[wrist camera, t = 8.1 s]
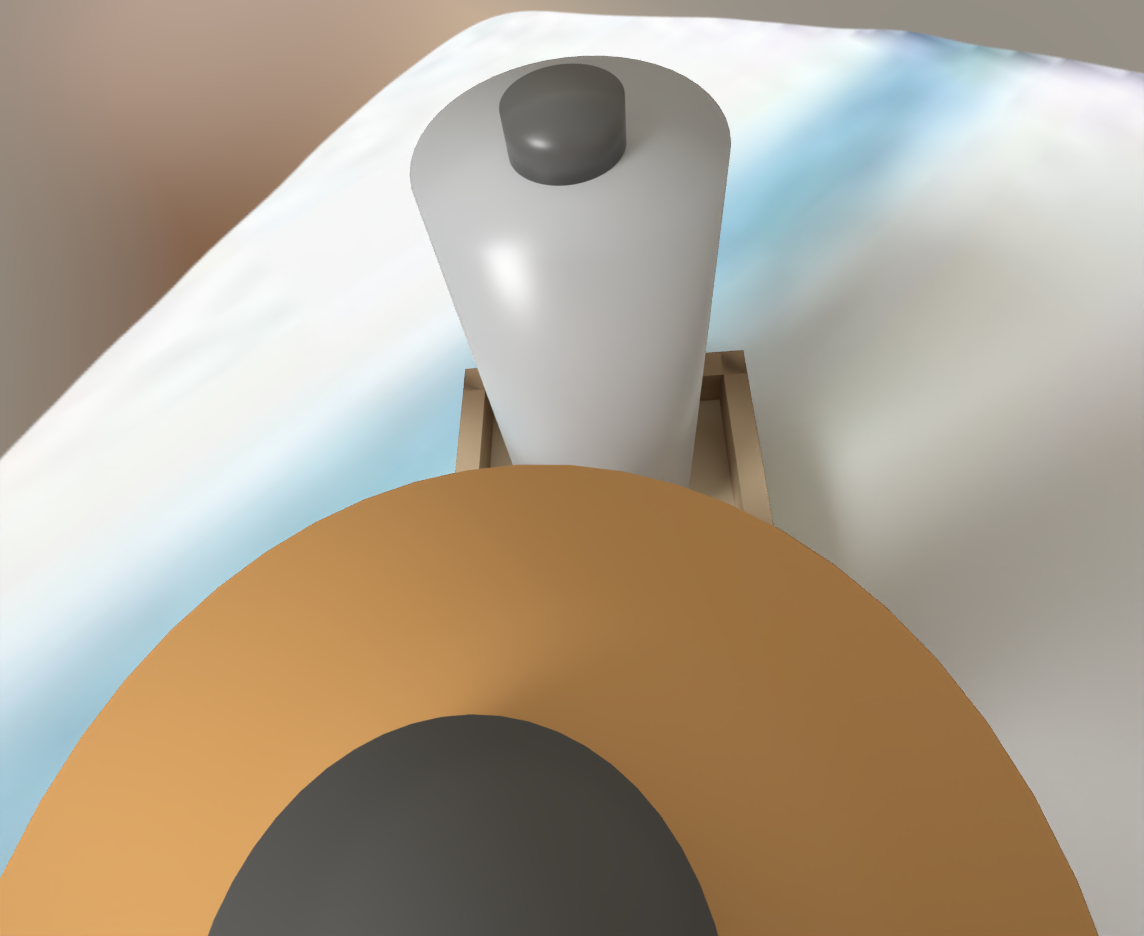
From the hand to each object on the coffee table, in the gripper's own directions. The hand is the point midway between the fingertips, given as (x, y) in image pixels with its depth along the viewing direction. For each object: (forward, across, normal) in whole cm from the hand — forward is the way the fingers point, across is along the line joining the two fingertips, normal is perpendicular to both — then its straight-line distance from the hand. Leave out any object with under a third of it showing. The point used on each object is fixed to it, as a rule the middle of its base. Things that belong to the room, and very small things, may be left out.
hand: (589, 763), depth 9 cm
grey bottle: (+14, 0, +1) cm, 14 cm away
